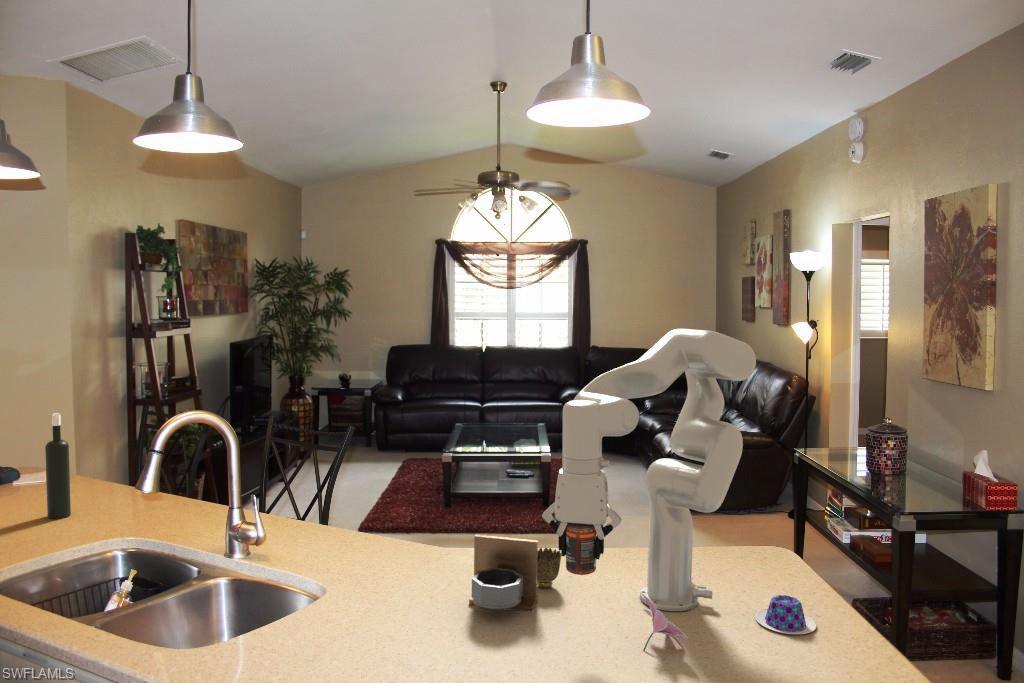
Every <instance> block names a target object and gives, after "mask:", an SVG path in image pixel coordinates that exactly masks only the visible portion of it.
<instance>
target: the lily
mask: <svg viewBox="0 0 1024 683" xmlns="http://www.w3.org/2000/svg"><path fill="white" fill-rule="evenodd" d="M641 594H642V593H641ZM642 595H643V597H644V598H645V600H646V601H647V603H648V604H649V606H648V607H649V609H650V610H649V609H646V608H643V610H642V611H644V612H645V613H646V614H647V615H648V616H649V617H651V618H652V619H651V620H652V628H653V630H652V632H651V634H650V635H649V637H648V639H647V641H646V643H645V645H644V647H643V650H642V651H643V652H645V651H646V648H647V646H648V644H649V642H650V640H651V638H652V637H653V635H654V634H656V633H658V634H663V635H665V636H666V635H667V636H668V637H671V638H672V639H673V640H674V641H675V642H676V643H677V644H678V645H679V646H680V647H681V649H682V650H683V651H685V647H684V645H683V644H682V642H681V641H680V639H679V638H678V637H682V638H685V639H688V636H687V635H686V633H685V632H683V631H682V629H681V628H679V627H678V626H677V625H676V624H674V622H672V621H669V620H670V617H668V618H667V616H665V615H664V613H663V612H662V610H660V609H656V607H655V606H654V604H653V603H652V602H651V601H650V600H649V599H648V598H647V597H646V596H645V595H644V594H642Z"/></svg>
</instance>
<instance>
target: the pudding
mask: <svg viewBox="0 0 1024 683" xmlns="http://www.w3.org/2000/svg"><path fill="white" fill-rule="evenodd" d="M754 616H755V617H754V618H755V620H756V621H757V623H758V624H759V625H761V626H763V627H764V628H766V629H769V630H772V631H774V632H778V633H781V634H787V635H805V634H810V633H812V632H814V631H815V630H816V629H817V624H816V622H815V621H814V619H812V618H811V617H809V616H807V615H806V614H805V613H804V608H803V604H802V602H801V601H800V600H798V598H796V597H794V596H793V597H792V596H789V595H785V594H784V595H782V594H778V595H776V596H773V597H772V598H770V601H769V604H768V608H765V609H760V610H759V611H757V612H756V614H755V615H754Z"/></svg>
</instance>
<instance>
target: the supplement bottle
mask: <svg viewBox="0 0 1024 683" xmlns="http://www.w3.org/2000/svg"><path fill="white" fill-rule="evenodd" d="M565 530H566V555H565V569H566V571H568V573H570V574H573V575H580V576H587V575H591V574H593V573H595V571H596V570H597V559H596V558H595V540H596V537H597V533H596V530H595V527H594V525H586V524H581V523H577V524H573V523H567V526H566V528H565Z"/></svg>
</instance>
